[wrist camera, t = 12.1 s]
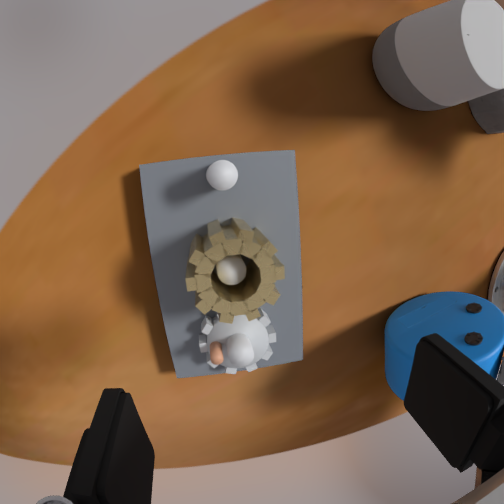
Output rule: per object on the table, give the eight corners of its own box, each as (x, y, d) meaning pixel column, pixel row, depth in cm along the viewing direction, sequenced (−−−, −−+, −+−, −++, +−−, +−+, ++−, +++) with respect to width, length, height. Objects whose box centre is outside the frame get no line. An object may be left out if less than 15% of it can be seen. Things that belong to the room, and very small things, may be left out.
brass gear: (265, 213, 25) (281, 224, 20) (270, 289, 26) (286, 315, 21) (183, 223, 24) (179, 236, 19) (194, 299, 25) (193, 328, 21)
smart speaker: (377, 118, 26) (489, 98, 13) (350, 31, 23) (439, -31, 10) (443, 111, 27) (545, 101, 13) (420, 35, 24) (510, -2, 11)
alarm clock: (364, 360, 33) (436, 448, 18) (360, 314, 31) (450, 400, 16) (448, 320, 34) (529, 377, 19) (450, 277, 32) (544, 327, 18)
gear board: (287, 151, 25) (309, 147, 20) (297, 349, 31) (314, 381, 25) (143, 165, 24) (129, 164, 19) (177, 366, 29) (175, 402, 24)
